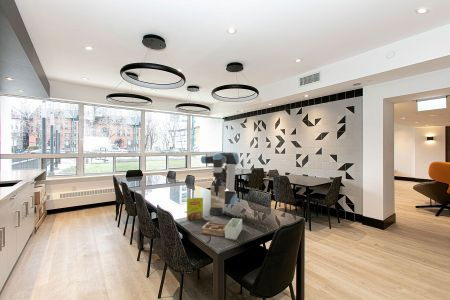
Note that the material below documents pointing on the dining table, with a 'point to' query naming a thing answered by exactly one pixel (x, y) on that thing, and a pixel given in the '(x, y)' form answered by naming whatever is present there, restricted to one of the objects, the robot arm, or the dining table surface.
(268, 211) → the dining table surface
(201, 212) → the food package
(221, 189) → the board
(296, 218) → the dining table surface
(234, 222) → the tote
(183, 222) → the dining table surface
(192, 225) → the dining table surface
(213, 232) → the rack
